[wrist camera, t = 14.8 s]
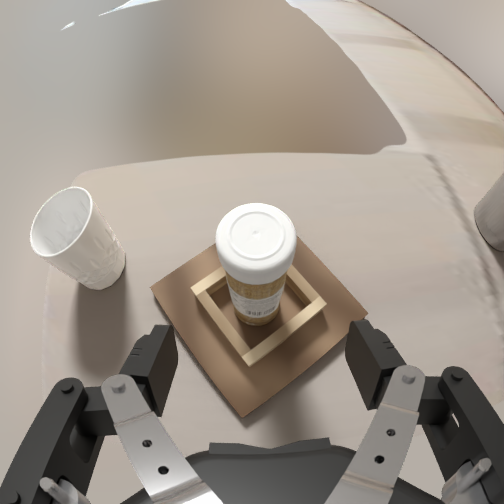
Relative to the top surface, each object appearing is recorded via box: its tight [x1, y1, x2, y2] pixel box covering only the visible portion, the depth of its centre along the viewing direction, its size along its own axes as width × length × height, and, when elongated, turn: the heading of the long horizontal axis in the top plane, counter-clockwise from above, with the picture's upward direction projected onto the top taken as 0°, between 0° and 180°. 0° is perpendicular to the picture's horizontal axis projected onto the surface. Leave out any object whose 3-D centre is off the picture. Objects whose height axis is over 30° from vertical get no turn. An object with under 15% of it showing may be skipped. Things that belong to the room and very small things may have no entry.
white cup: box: [30, 187, 125, 290], centre depth 26 cm, size 8×8×10 cm
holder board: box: [150, 236, 368, 418], centre depth 27 cm, size 16×16×3 cm
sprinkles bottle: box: [215, 203, 297, 326], centre depth 21 cm, size 5×5×13 cm
